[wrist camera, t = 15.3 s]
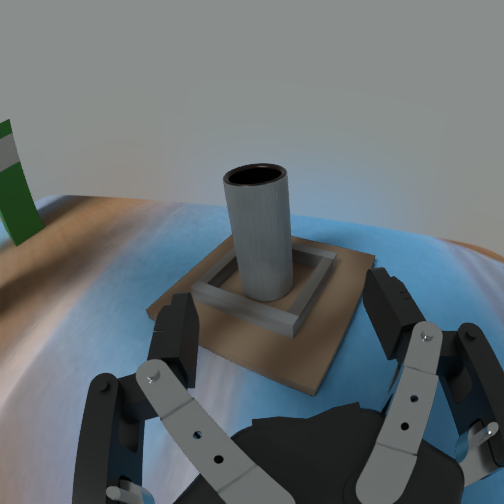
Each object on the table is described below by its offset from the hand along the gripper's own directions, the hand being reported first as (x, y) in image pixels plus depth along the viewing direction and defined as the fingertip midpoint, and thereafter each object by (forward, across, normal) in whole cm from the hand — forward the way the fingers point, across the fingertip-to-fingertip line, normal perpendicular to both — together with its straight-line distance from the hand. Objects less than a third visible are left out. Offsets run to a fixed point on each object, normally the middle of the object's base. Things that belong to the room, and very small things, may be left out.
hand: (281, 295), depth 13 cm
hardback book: (+37, +52, +9) cm, 65 cm away
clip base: (+10, 0, +9) cm, 14 cm away
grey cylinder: (+10, 0, +8) cm, 13 cm away
